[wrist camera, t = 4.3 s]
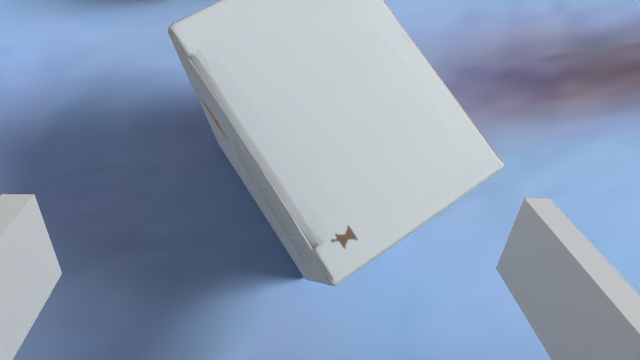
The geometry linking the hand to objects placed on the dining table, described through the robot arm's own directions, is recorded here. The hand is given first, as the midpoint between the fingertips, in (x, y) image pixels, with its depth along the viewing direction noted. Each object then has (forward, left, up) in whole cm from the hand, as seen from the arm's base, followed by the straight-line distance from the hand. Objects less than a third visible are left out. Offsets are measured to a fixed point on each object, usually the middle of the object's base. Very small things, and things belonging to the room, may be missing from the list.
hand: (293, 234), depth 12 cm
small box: (-1, -3, -9) cm, 9 cm away
